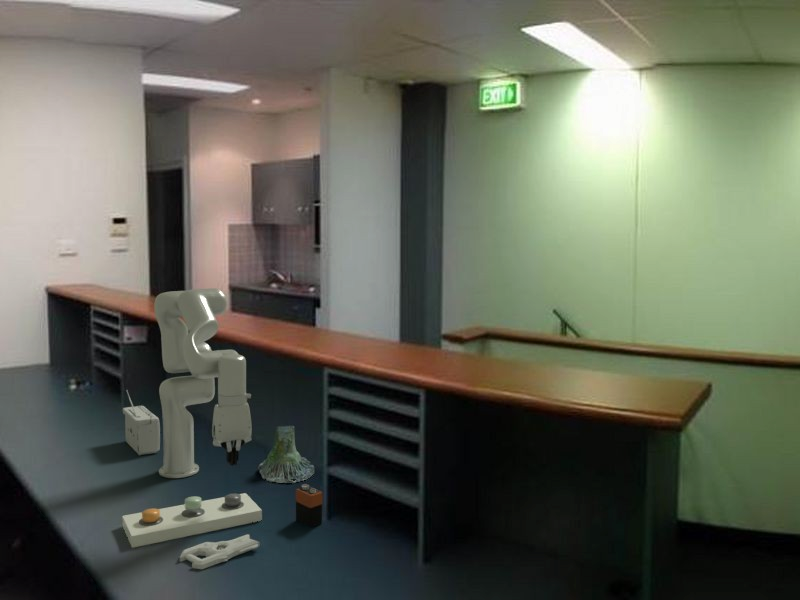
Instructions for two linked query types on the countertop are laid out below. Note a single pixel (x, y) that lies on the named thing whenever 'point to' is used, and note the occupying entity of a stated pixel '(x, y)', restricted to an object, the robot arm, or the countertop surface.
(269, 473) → the tree stump
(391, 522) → the countertop surface
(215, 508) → the button panel
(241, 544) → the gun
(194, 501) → the sage button
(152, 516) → the orange button
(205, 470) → the countertop surface
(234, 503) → the charcoal button
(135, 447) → the stereo radio cassette player
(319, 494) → the battery
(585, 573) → the countertop surface
